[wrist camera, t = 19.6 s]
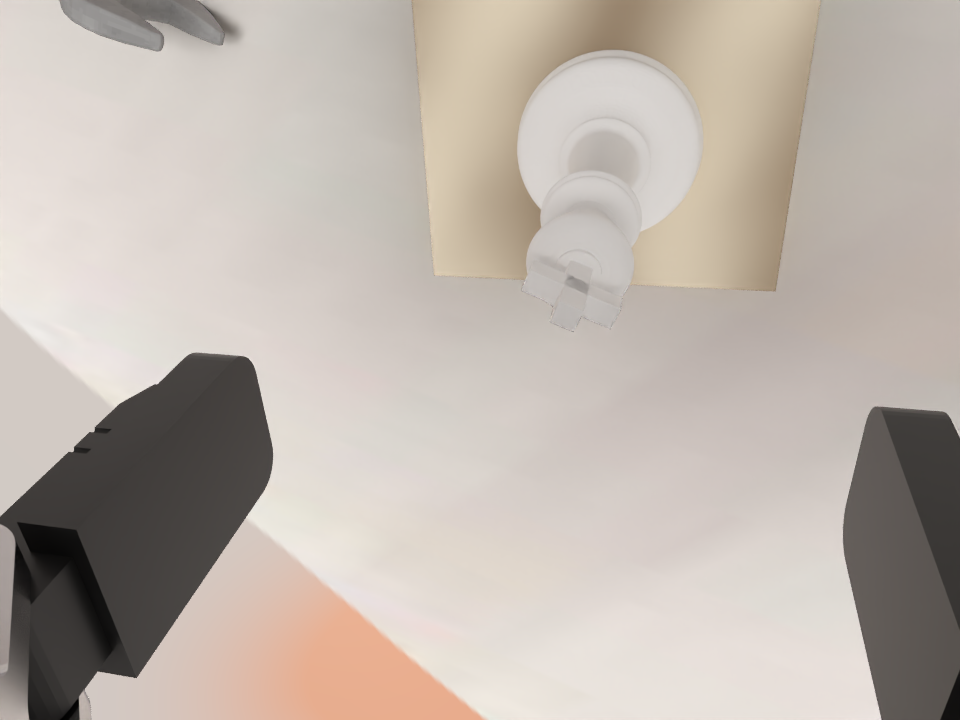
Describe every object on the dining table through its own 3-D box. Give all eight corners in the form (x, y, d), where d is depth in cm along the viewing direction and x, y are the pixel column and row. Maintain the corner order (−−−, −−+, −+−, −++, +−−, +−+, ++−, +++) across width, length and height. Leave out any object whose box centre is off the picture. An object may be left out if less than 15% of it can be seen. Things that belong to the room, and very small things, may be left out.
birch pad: (817, -24, 20) (824, -20, 19) (771, 276, 24) (775, 291, 23) (421, -13, 22) (410, -9, 21) (441, 262, 26) (433, 275, 25)
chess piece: (560, 17, 20) (480, 118, 12) (739, 96, 20) (784, 250, 12) (492, 189, 23) (387, 371, 15) (650, 258, 23) (636, 477, 15)
